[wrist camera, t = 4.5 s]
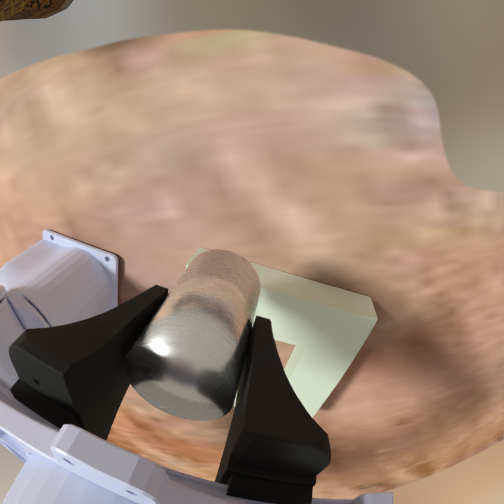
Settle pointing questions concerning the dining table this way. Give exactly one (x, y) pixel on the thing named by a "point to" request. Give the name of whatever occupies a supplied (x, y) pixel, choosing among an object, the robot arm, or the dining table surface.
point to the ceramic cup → (31, 8)
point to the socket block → (313, 329)
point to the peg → (198, 339)
